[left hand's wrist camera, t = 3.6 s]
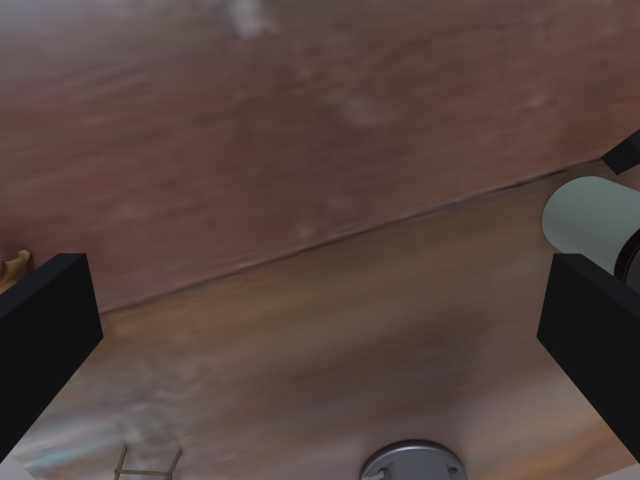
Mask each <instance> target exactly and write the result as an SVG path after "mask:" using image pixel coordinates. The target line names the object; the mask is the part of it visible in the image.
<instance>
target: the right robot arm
mask: <svg viewBox="0 0 640 480" xmlns="http://www.w3.org/2000/svg"><path fill="white" fill-rule="evenodd" d="M601 159H602V160H603V161H604V162H605V163H606V164H607V165H608V166H609V167H610V169H611V170H612V171H613V172H614V173H615V174H616V175H618V174H620V173H622V172H624V171H626V170H628V169H630V168H632V167H634V166H636V165H638V164H640V129H639V130H637V131H636V132H635V133H633V134H632V135H631V136H629V137H628V138H626V139H625V140H624V141H622V142H621V143H620V144H618V145H617V146H616V147H614V148H613V149H612V150H610V151H609V152H608V153H606V154H605V155H604V156H602V157H601Z"/></svg>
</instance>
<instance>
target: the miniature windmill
mask: <svg viewBox="0 0 640 480" xmlns="http://www.w3.org/2000/svg"><path fill="white" fill-rule="evenodd" d="M126 450H127V448H126V447H123V450H122V453H121V457H120V460H119V464H118V468H117V469H115V471H114V473H115V479H114V480H118V479H119V476H120V473H122V474H140V475H157V476H166V478H165V480H172V472H173V470H174V468H175V466H176V464H177V462H178V460H179V458H180V456H181V454H182V450H179V451H178V453H177V455H176V457H175V459H174V461H173V463H172V465H171V467H170V470H169V472H152V471H135V470H121V468H122V464H123V461H124V457H125V453H126Z"/></svg>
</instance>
